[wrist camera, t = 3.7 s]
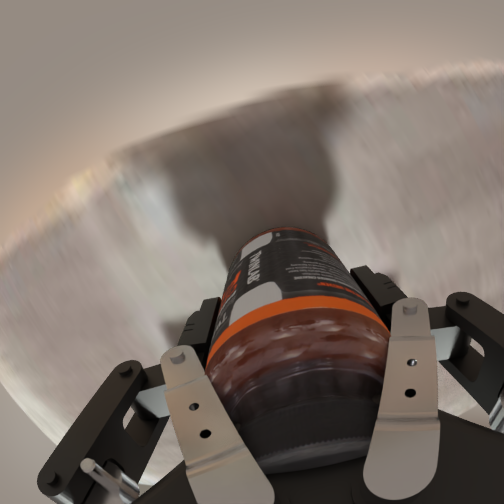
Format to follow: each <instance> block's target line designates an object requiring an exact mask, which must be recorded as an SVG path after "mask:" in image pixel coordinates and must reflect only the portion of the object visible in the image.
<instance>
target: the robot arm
mask: <svg viewBox="0 0 504 504" xmlns="http://www.w3.org/2000/svg"><path fill="white" fill-rule="evenodd" d="M350 275H351V276H352V277H353V279H354V280H355V282H356V283H357V284H358V286H359V287H360V289H361V290H362V292H363V293H364V294H365V296H366V297H367V299H368V300H369V302H370V303H371V305H372V306H373V307H374V309H375V310H376V312H377V313H378V315H379V317H380V318H381V320H382V322H383V323H384V325H385V326H386V327H387V329H388V330H389V332H390V334H391V336H392V337H390V338H389V347H388V355H387V363H386V371H385V377H384V384H383V390H382V391H381V392H378V393H376V394H375V395H374V396H373V398H372V400H373V402H375V403H378V404H380V406H379V411H378V416H377V419H376V423H375V427H374V431H373V436H372V440H371V444H370V447H369V451H368V455H366V456H363V457H359V458H356V459H352V460H348V461H344V462H340V463H336V464H331V465H326V466H321V467H316V468H310V469H304V470H298V471H291V472H283V473H274V474H264V473H263V472H262V470H261V469H260V467H259V466H258V464H257V462H256V461H255V459H254V458H253V456H252V455H251V453H250V451H249V450H248V448H247V447H246V445H245V444H244V442H243V440H242V439H241V437H240V435H239V434H238V431H239V429H240V423H239V422H237V421H231V420H230V418H229V416H228V414H227V413H226V411H225V409H224V407H223V405H222V403H221V402H220V400H219V398H218V396H217V394H216V392H215V390H214V388H213V386H212V384H211V382H210V380H209V379H208V377H207V375H204V374H205V369H206V365H207V359H208V353H209V348H210V346H211V342H212V338H213V334H214V329H215V324H216V321H217V317H218V313H219V308H220V305H221V301H222V300H221V298H220V297H216V298H211V299H205V300H203V303H202V305H201V308H200V311H196V312H194V313H193V314H192V315H191V316H190V317H189V318H188V320H187V323H186V326H185V328H184V332H183V333H182V335H181V338H180V340H179V343H178V345H177V346H176V347H173V348H171V349H169V350H168V351H166V352H165V353H164V354H163V355H162V357H161V359H160V363H161V364H159V365H156V366H152V367H149V368H145V369H143V367H142V365H141V363H140V362H138V361H136V360H130V361H126V362H123V363H121V364H119V365H118V366H117V367H115V368H114V370H113V371H112V372H111V373H110V375H109V376H108V377H107V379H106V380H105V381H104V383H103V384H102V385H101V387H100V388H99V389H98V391H97V392H96V393H95V395H94V396H93V397H92V399H91V400H90V401H89V403H88V404H87V405H86V407H85V408H84V409H83V411H82V412H81V414H80V415H79V416H78V418H77V419H76V420H75V422H74V423H73V425H72V426H71V427H70V429H69V430H68V432H67V433H66V434H65V436H64V437H63V439H62V440H61V441H60V443H59V444H58V446H57V447H56V449H55V450H54V452H53V453H52V454H51V456H50V457H49V459H48V460H47V462H46V463H45V465H44V466H43V468H42V469H41V471H40V472H39V475H38V478H37V485H38V488H39V490H40V491H41V492H42V493H43V494H44V495H46V496H47V497H48V498H50V499H51V500H53V501H54V502H55V503H57V504H504V314H502V313H501V312H499V311H498V310H496V309H495V308H493V307H492V306H490V305H489V304H487V303H485V302H484V301H482V300H481V299H479V298H477V297H476V296H474V295H472V294H470V293H467V292H456V293H453V294H451V295H449V296H448V298H447V300H446V306H442V307H434V308H428V306H427V304H426V303H425V302H424V301H423V300H421V299H418V298H408V297H407V296H406V295H405V294H404V293H403V292H402V291H401V290H400V289H399V288H398V287H396V285H395V284H394V283H393V282H392V281H391V279H390V278H389V277H388V276H386V275H383V274H381V273H375V274H374V273H373V272H372V271H371V270H370V269H369V268H368V266H366V265H365V266H361V267H357V268H352V269H351V270H350ZM471 338H473V339H474V340H475V341H476V342H478V343H479V344H480V345H481V346H482V347H483V350H484V354H485V356H484V357H483V356H482V355H481V354H480V353H479V352H477V351H476V350H475V349H474V348H473V347H472V346H470V342H471ZM437 361H439V363H440V364H441V365H442V366H443V367H444V368H445V369H446V370H447V371H448V372H449V373H450V374H451V375H452V376H453V377H454V378H455V379H456V380H457V381H458V382H459V383H460V384H461V385H462V386H463V387H464V389H465V390H466V391H467V392H468V393H469V394H470V395H471V396H472V397H473V398H474V399H475V400H476V401H477V402H478V404H479V405H480V406H481V407H482V408H483V409H484V410H485V411H486V412H487V413H488V415H489V423H490V426H491V428H492V429H489V428H487V427H484V426H481V425H478V424H475V423H472V422H470V421H467V420H464V419H462V418H459V417H457V416H454V415H451V414H449V413H446V412H444V411H441V410H439V409H438V374H437ZM130 406H131V408H132V409H133V410H134V412H135V413H134V415H133V417H132V418H131V420H130V422H129V423H128V425H127V427H126V429H124V427H123V418H124V416H125V414H126V413H127V411H128V409H129V408H130ZM169 417H171V420H172V423H173V427H174V430H175V433H176V436H177V439H178V443H179V446H180V449H181V451H182V454H183V457H184V460H183V461H182V462H181V463H180V464H179V465H177V466H176V467H175V468H174V469H173V470H172V471H171V472H169V473H168V474H167V475H166V476H165V477H163V478H162V479H161V480H160V481H159V482H157V483H156V484H155V485H154V486H152V487H151V488H150V489H149V490H147V491H146V492H145V493H144V494H142V495H141V496H140V497H139V493H140V491H139V487H138V483H139V480H140V478H141V476H142V474H143V472H144V470H145V468H146V466H147V464H148V461H149V459H150V457H151V455H152V453H153V451H154V449H155V447H156V445H157V442H158V440H159V438H160V436H161V434H162V432H163V430H164V428H165V426H166V424H167V421H168V419H169Z"/></svg>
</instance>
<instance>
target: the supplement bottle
mask: <svg viewBox="0 0 504 504" xmlns="http://www.w3.org/2000/svg"><path fill="white" fill-rule="evenodd" d="M390 337H392V336H391V334H390V332H389V330H388V329H387V327H386V326H385V325H384V323H383V322H382V320H381V318H380V317H379V315H378V313H377V312H376V310H375V309H374V307H373V306H372V305H371V303H370V302H369V300H368V299H367V297H366V296H365V294H364V293H363V292H362V290H361V289H360V287H359V286H358V284H357V283H356V282H355V280H354V279H353V277H352V276H351V275H350V273H349V272H348V270H347V269H346V268H345V266H344V265H343V263H342V262H341V261H340V259H339V258H338V256H337V255H336V254H335V252H334V251H333V250H332V248H331V247H330V246H329V245H328V244H327V243H326V242H325V241H323V240H322V239H321V238H319V237H318V236H316V235H315V234H313V233H311V232H308V231H306V230H302V229H298V228H292V227H281V228H275V229H271V230H268V231H265V232H262V233H260V234H258V235H257V236H255V237H253V238H252V239H250V240H249V241H248V242H247V243H245V245H244V246H243V247H242V248H241V249H240V250H239V252H238V253H237V254H236V256H235V258H234V260H233V262H232V264H231V267H230V270H229V273H228V276H227V281H226V284H225V288H224V292H223V296H222V301H221V305H220V308H219V313H218V317H217V321H216V324H215V329H214V334H213V338H212V342H211V346H210V348H209V353H208V359H207V365H206V369H205V374H204V375H207V377H208V379H209V380H210V382H211V384H212V386H213V388H214V390H215V392H216V394H217V396H218V398H219V400H220V402H221V403H222V405H223V407H224V409H225V411H226V413H227V414H228V416H229V418H230V420H231V421H237V422H239V423H240V429H239V431H238V434H239V435H240V437H241V439H242V440H243V442H244V444H245V445H246V447H247V448H248V450H249V451H250V453H251V455H252V456H253V458H254V459H255V461H256V462H257V464H258V466H259V467H260V469H261V470H262V472H263V473H264V474H274V473H283V472H291V471H298V470H304V469H310V468H316V467H321V466H326V465H331V464H336V463H340V462H344V461H348V460H352V459H356V458H359V457H363V456H366V455H368V451H369V447H370V444H371V440H372V436H373V431H374V427H375V423H376V419H377V416H378V411H379V406H380V404H378V403H375V402H373V400H372V398H373V396H374V395H375V394H376V393H378V392H381V391H382V390H383V384H384V377H385V371H386V363H387V355H388V347H389V338H390Z"/></svg>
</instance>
